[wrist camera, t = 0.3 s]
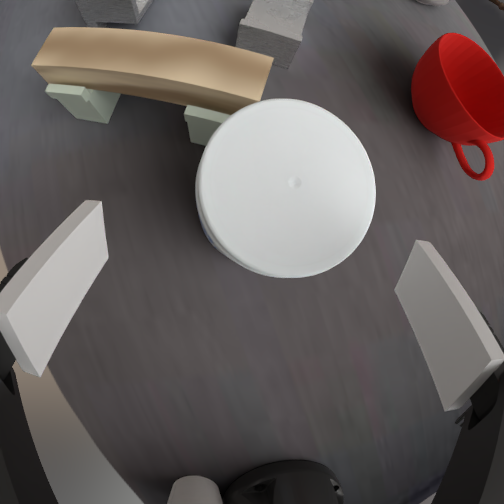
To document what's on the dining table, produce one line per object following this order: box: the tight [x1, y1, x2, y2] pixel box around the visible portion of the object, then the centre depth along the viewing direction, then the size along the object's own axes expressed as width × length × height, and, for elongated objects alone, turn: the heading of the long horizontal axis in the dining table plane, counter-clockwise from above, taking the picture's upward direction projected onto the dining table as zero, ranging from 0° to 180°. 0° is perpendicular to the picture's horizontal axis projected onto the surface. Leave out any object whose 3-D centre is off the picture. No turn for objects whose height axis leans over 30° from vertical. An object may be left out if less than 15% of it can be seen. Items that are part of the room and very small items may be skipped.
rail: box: [31, 27, 274, 115], centre depth 20 cm, size 4×19×4 cm, turn 75°
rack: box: [45, 84, 231, 146], centre depth 24 cm, size 7×17×8 cm, turn 75°
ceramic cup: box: [411, 33, 504, 181], centre depth 27 cm, size 13×17×10 cm
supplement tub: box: [195, 99, 376, 278], centre depth 22 cm, size 10×10×15 cm
